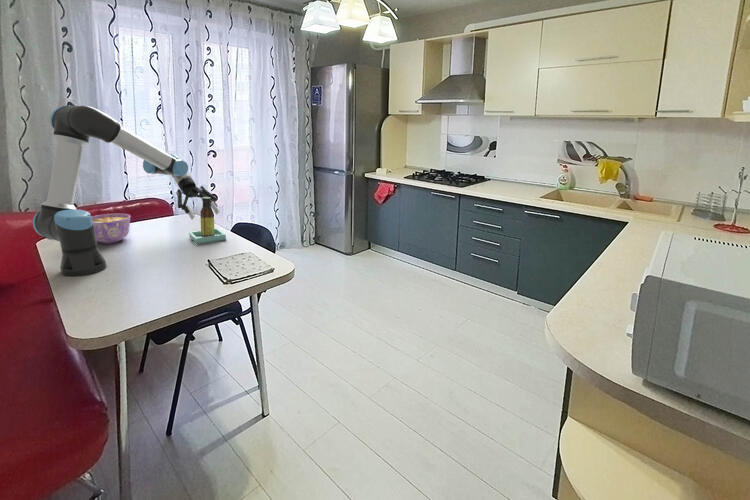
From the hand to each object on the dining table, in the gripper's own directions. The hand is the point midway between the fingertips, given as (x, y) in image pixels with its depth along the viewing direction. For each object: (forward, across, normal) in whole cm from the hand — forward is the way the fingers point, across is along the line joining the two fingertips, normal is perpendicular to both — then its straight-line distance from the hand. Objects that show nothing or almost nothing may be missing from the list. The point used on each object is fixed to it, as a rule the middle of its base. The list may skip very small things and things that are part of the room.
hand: (205, 215), depth 208 cm
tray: (+8, 0, -9) cm, 12 cm away
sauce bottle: (+8, 0, -8) cm, 11 cm away
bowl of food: (-16, +31, -33) cm, 48 cm away
